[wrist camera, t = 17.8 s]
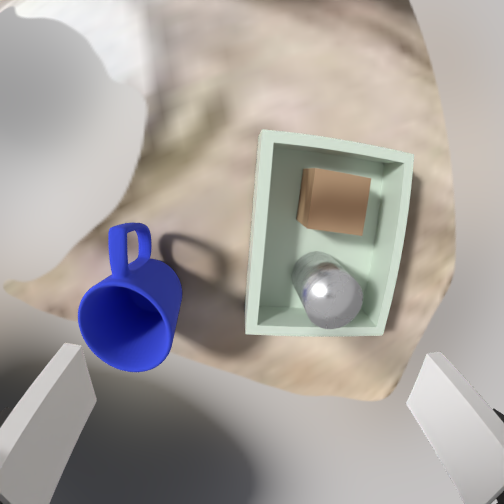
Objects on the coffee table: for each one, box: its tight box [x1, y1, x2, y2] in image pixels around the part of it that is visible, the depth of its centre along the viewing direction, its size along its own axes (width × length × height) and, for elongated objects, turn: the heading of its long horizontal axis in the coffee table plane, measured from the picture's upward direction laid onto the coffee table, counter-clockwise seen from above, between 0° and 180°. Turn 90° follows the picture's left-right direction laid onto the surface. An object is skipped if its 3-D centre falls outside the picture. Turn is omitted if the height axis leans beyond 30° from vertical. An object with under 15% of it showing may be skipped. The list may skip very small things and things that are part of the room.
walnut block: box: [296, 168, 371, 236], centre depth 27 cm, size 5×5×5 cm
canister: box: [291, 251, 363, 329], centre depth 28 cm, size 5×5×7 cm
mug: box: [78, 223, 182, 372], centre depth 26 cm, size 8×12×10 cm
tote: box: [244, 129, 414, 336], centre depth 29 cm, size 18×14×5 cm
